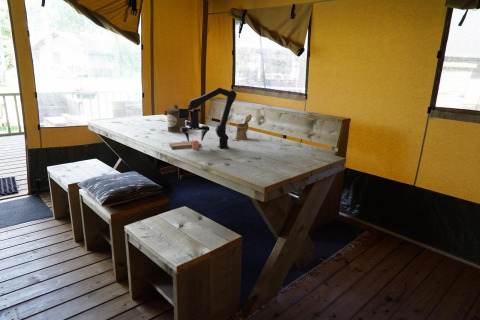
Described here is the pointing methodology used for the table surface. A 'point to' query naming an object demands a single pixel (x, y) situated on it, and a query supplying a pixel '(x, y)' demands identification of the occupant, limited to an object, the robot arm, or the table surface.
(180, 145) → the board
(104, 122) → the table surface
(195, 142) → the pink and yellow hammer
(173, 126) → the wooden container
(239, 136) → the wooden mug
